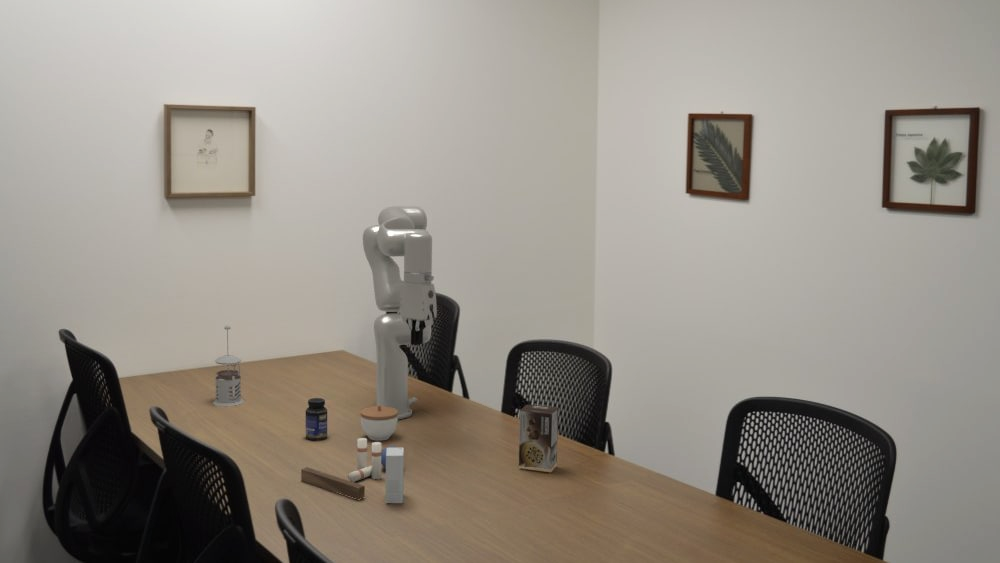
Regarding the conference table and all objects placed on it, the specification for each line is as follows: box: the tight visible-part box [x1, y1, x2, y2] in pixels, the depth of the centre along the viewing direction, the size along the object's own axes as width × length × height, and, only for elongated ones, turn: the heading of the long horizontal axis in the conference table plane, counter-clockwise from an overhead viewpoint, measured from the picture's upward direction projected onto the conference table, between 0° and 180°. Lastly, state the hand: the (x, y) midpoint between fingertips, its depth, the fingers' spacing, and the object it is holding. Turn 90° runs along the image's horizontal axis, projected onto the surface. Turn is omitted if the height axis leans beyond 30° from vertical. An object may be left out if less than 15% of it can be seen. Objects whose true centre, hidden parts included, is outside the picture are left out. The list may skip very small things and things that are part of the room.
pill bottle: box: [305, 397, 328, 441], centre depth 274 cm, size 6×6×11 cm
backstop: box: [300, 466, 366, 500], centre depth 235 cm, size 2×20×3 cm, turn 53°
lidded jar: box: [359, 405, 399, 442], centre depth 276 cm, size 11×11×9 cm
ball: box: [381, 446, 398, 469], centre depth 250 cm, size 6×6×6 cm
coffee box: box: [518, 404, 559, 469], centre depth 253 cm, size 9×6×16 cm
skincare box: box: [385, 447, 405, 504], centre depth 229 cm, size 6×4×12 cm
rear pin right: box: [356, 437, 368, 470], centre depth 246 cm, size 2×2×9 cm
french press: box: [212, 325, 245, 407], centre depth 306 cm, size 10×12×25 cm
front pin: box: [348, 464, 372, 483], centre depth 243 cm, size 2×2×9 cm
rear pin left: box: [371, 441, 383, 480], centre depth 243 cm, size 2×2×9 cm
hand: (416, 344), depth 265 cm, fingers closed
